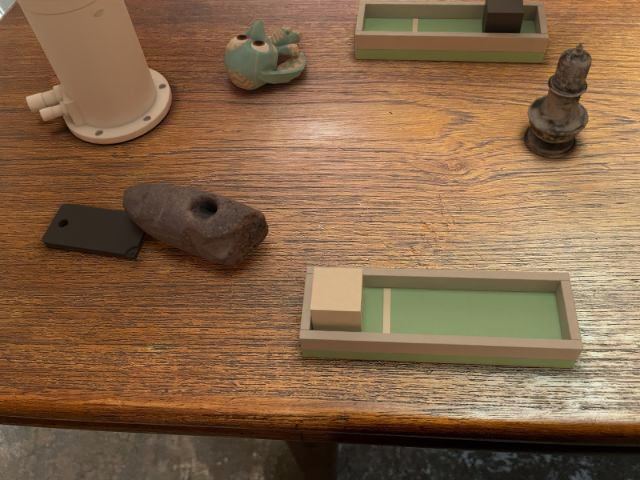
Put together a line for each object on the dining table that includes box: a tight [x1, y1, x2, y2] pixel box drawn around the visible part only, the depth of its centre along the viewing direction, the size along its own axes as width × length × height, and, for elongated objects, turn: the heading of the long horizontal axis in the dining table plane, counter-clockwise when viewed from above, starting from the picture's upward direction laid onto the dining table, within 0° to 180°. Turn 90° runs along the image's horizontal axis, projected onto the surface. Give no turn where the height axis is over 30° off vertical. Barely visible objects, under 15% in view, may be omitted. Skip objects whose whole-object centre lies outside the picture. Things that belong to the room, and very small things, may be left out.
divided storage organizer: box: [298, 265, 584, 369], centre depth 51 cm, size 22×7×4 cm, turn 85°
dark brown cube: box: [482, 0, 524, 33], centre depth 71 cm, size 4×4×4 cm
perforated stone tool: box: [122, 183, 269, 267], centre depth 57 cm, size 15×5×7 cm, turn 65°
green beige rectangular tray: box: [354, 0, 550, 64], centre depth 74 cm, size 22×7×4 cm, turn 83°
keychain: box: [41, 203, 148, 260], centre depth 61 cm, size 5×1×10 cm
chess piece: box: [523, 42, 593, 159], centre depth 60 cm, size 6×6×12 cm
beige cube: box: [310, 267, 363, 332], centre depth 51 cm, size 4×4×4 cm
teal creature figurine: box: [223, 19, 308, 91], centre depth 72 cm, size 11×7×12 cm
